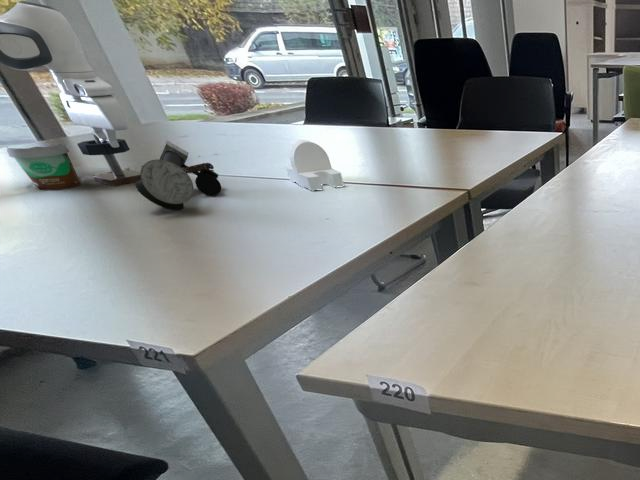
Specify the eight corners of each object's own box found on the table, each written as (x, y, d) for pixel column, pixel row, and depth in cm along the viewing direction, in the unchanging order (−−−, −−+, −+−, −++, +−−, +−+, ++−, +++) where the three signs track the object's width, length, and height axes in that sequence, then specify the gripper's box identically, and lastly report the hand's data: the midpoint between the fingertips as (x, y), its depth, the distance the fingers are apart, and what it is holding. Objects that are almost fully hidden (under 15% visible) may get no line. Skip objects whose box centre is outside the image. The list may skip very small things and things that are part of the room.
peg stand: (114, 185, 143) (88, 138, 135) (95, 182, 145) (69, 135, 138) (148, 179, 149) (125, 134, 141) (129, 175, 152) (106, 131, 144)
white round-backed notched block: (312, 191, 142) (298, 147, 135) (289, 179, 152) (274, 138, 145) (345, 186, 148) (334, 144, 141) (321, 175, 157) (309, 135, 150)
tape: (97, 156, 137) (91, 145, 136) (76, 153, 141) (70, 143, 139) (136, 150, 144) (131, 140, 143) (116, 147, 147) (110, 137, 146)
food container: (29, 193, 135) (2, 150, 128) (30, 188, 138) (3, 146, 132) (88, 187, 141) (64, 146, 135) (87, 182, 145) (64, 142, 138)
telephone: (207, 237, 128) (209, 204, 147) (228, 193, 125) (227, 165, 144) (128, 199, 117) (141, 169, 136) (149, 149, 114) (159, 126, 133)
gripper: (42, 83, 132) (76, 144, 141) (88, 88, 126) (121, 152, 135) (70, 81, 136) (102, 141, 145) (116, 87, 130) (146, 148, 139)
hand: (111, 146), depth 140 cm, fingers closed on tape, 2 cm apart
